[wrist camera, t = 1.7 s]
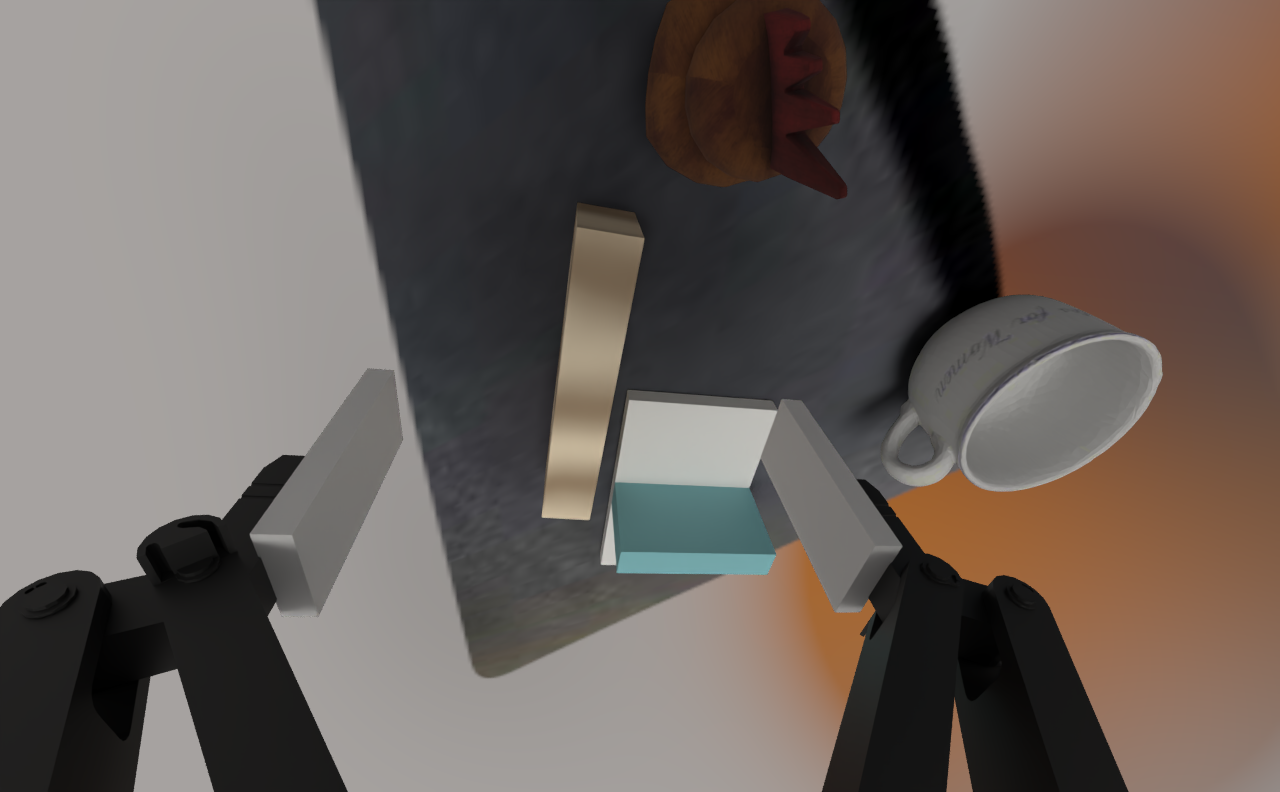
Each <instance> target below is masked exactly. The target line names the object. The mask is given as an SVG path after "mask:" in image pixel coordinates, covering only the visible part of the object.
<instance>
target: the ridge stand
mask: <svg viewBox="0 0 1280 792" xmlns="http://www.w3.org/2000/svg"><path fill="white" fill-rule="evenodd" d="M777 411H778V410H777V408H776V406H775V404H774V403H773V401H771V400H757V399H744V398H731V397H718V396H705V395H691V394H678V393H665V392H652V391H639V390H627V396H626V402H625V408H624V414H623V420H622V426H621V432H620V438H619V444H618V450H617V456H616V462H615V468H614V474H613V480H612V485H611V491H610V497H609V503H608V509H607V515H606V521H605V527H604V533H603V539H602V545H601V551H600V559H601V565H616V570H617V573H666V574H758V575H760V574H761V575H766V574H768V572H769V569H770V567H771V565H772V563H773V561H774V559H775V556H776V553H775V550H774V548H773V545H772V543H771V540H770V538H769V535H768V533H767V530H766V528H765V526H764V523H763V521H762V518H761V516H760V513H759V511H758V508H757V506H756V503H755V501H754V498H753V496H752V494H751V491H750V489H749V487H750V485H751V482H752V479H753V477H754V474H755V471H756V469H757V466H758V463H759V461H760V457H761V454H762V452H763V449H764V446H765V444H766V441H767V438H768V435H769V433H770V430H771V427H772V425H773V422H774V419H775V416H776V414H777Z"/></svg>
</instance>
